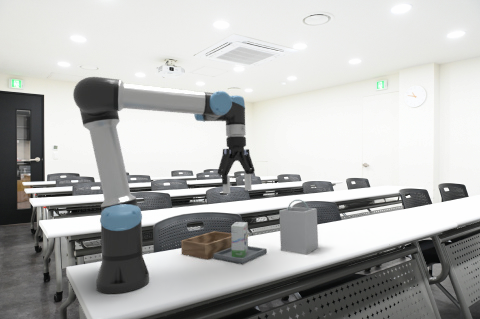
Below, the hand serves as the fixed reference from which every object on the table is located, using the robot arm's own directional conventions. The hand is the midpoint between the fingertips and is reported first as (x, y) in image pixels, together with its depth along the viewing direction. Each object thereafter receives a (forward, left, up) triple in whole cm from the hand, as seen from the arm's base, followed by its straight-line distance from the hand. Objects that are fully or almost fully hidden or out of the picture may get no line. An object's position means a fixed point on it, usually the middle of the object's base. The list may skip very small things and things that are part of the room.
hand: (237, 191), depth 124 cm
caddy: (+20, -15, -25) cm, 35 cm away
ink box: (0, 0, -24) cm, 24 cm away
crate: (0, +15, -25) cm, 29 cm away
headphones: (+20, -15, -25) cm, 35 cm away
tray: (0, 0, -25) cm, 25 cm away
